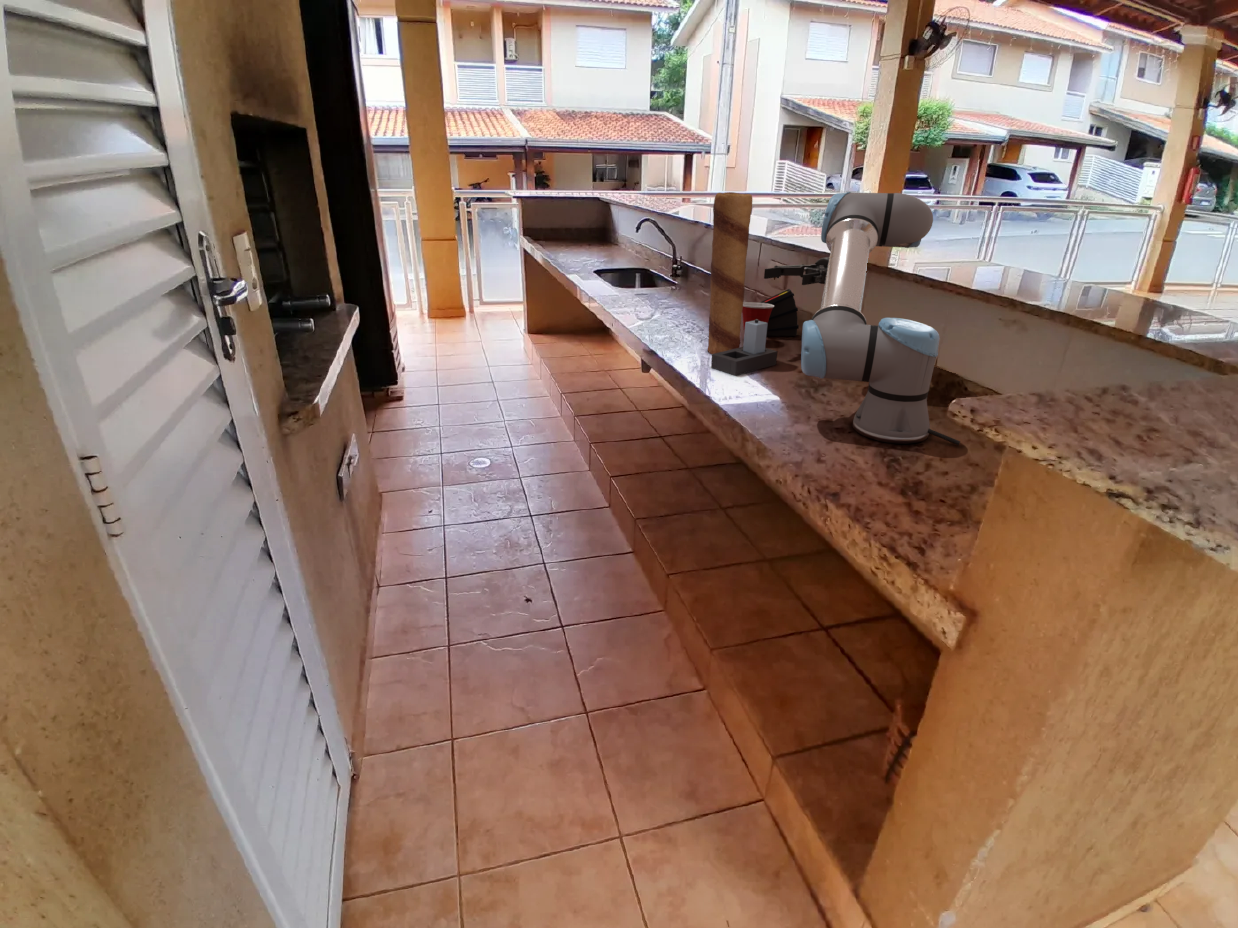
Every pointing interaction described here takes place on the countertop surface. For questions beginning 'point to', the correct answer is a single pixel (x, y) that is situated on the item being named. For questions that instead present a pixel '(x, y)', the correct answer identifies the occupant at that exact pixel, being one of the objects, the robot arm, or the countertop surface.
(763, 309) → the plastic cup
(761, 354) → the cinder block
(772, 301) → the magazine
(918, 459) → the countertop surface
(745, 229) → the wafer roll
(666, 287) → the countertop surface
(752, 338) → the grey rectangular block
